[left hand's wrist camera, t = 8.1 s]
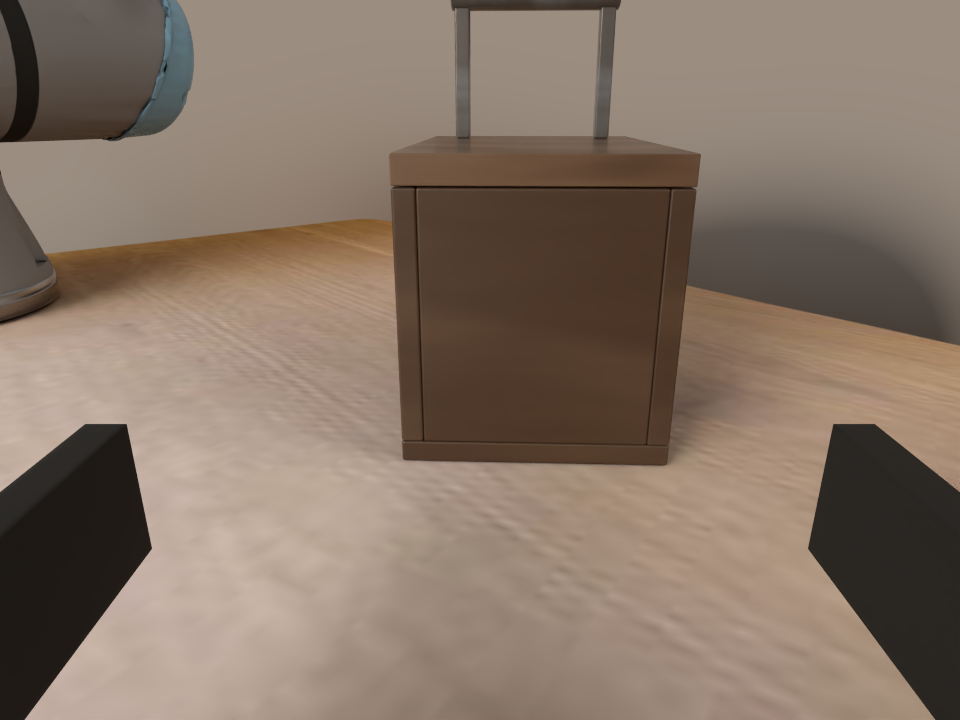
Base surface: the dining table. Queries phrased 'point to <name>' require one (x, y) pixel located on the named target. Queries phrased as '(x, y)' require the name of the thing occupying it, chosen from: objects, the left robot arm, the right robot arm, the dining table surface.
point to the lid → (541, 155)
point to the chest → (539, 321)
